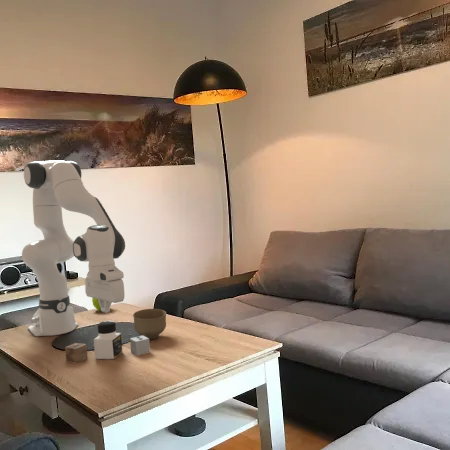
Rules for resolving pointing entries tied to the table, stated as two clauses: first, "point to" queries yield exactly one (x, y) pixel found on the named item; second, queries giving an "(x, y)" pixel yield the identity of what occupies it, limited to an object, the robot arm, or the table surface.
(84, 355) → the walnut block
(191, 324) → the table surface
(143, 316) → the bowl
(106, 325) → the medicine bottle
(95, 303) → the fruit
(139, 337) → the grey painted block
